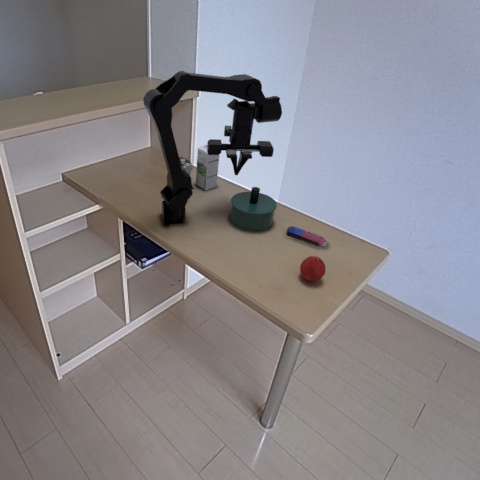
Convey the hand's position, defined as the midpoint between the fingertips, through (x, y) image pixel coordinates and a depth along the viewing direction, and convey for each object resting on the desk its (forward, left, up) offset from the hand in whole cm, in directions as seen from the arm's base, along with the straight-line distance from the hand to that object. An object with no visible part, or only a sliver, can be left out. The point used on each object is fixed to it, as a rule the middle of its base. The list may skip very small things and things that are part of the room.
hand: (235, 174), depth 113 cm
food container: (-12, +18, -13) cm, 25 cm away
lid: (+4, -7, -7) cm, 10 cm away
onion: (+8, -36, -13) cm, 39 cm away
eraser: (+16, -19, -13) cm, 28 cm away
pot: (+4, -7, -13) cm, 15 cm away
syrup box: (-3, +19, -13) cm, 23 cm away
